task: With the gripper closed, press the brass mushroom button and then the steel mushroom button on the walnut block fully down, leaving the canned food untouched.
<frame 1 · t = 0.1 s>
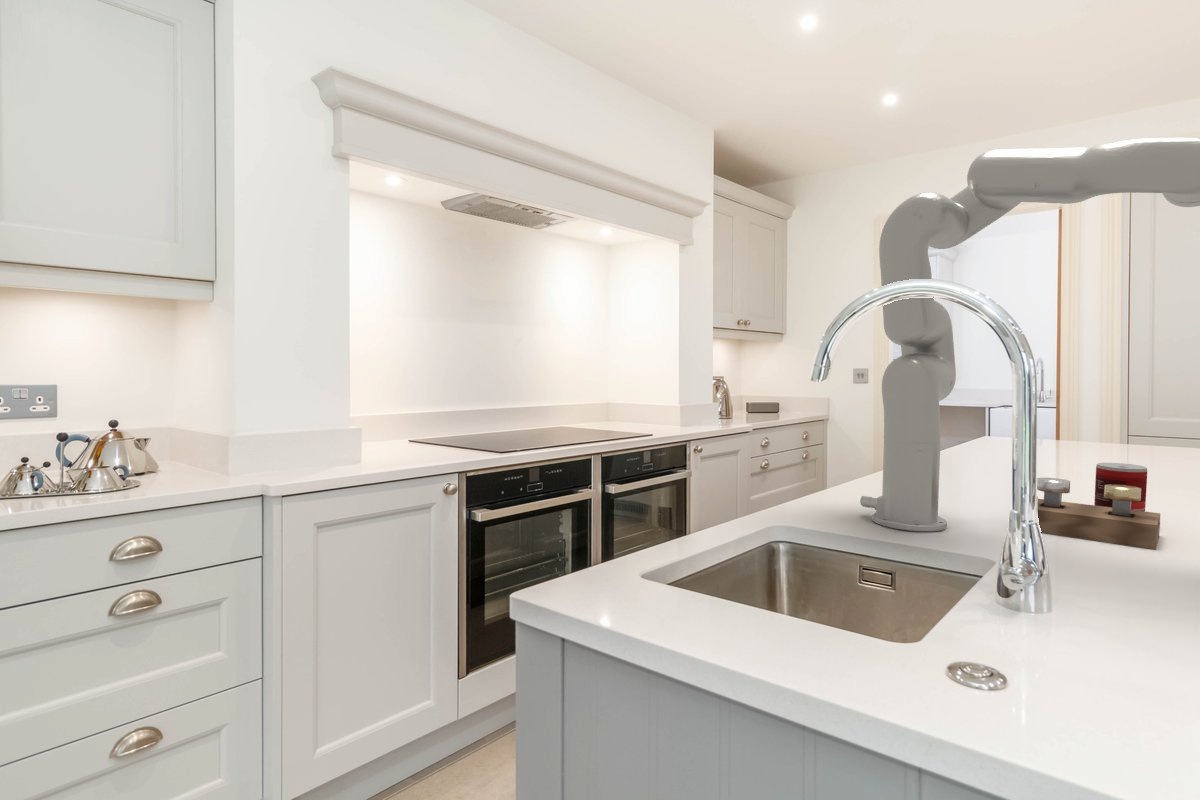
button block: (1084, 532, 119), on the countertop
canned food: (1118, 523, 127), on the countertop
steel button: (1052, 496, 122), point 6 cm above the countertop, slide at 2.5 cm
brass button: (1121, 504, 116), point 6 cm above the countertop, slide at 2.5 cm
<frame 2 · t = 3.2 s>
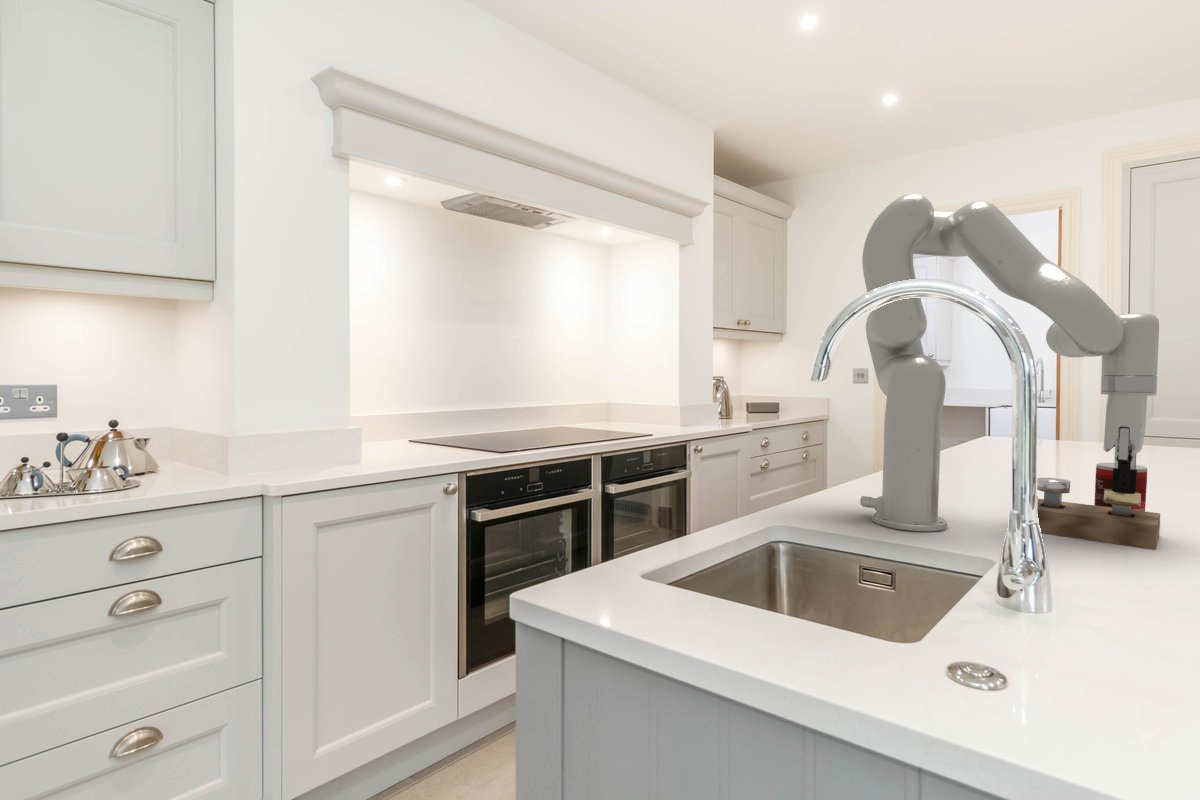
hand: (1124, 491, 115), 8 cm above the countertop, tool pointing down, fingers closed
brass button: (1121, 509, 116), point 5 cm above the countertop, slide at 1.6 cm, touching gripper
everything else where it was.
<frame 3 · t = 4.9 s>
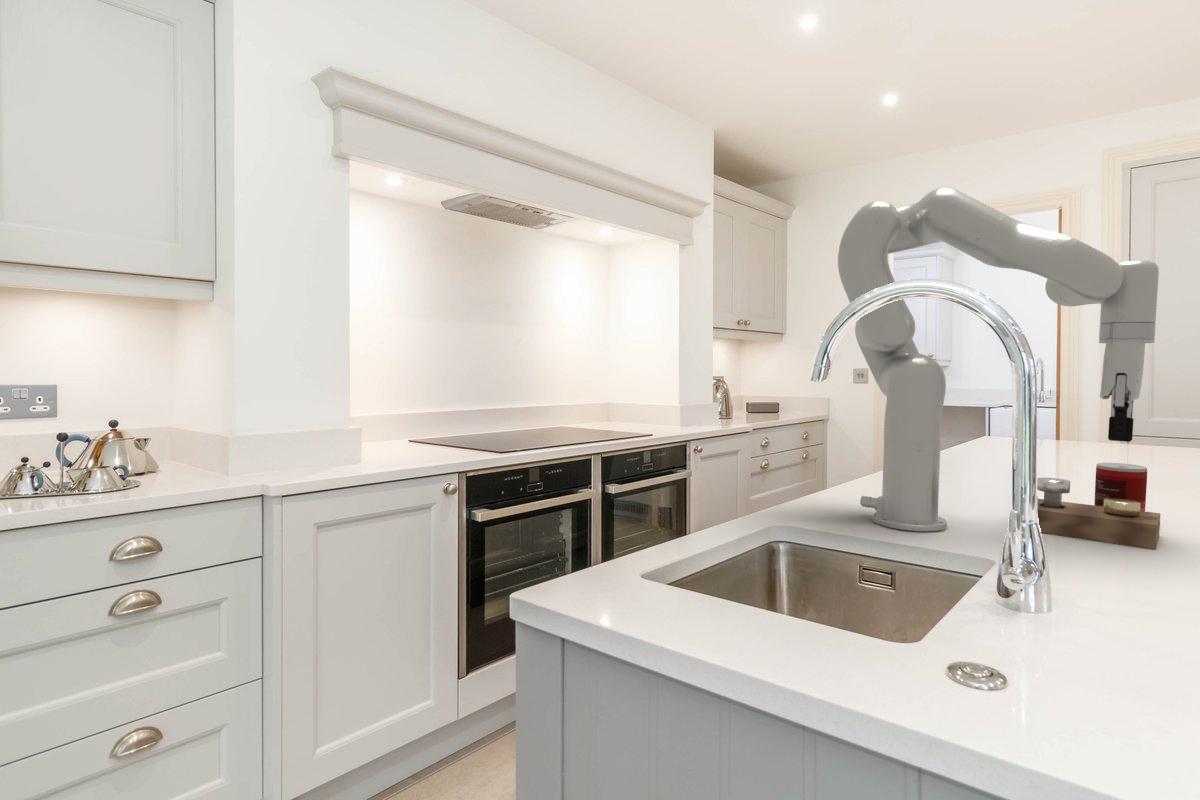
hand: (1120, 440, 115), 17 cm above the countertop, tool pointing down, fingers closed
brass button: (1121, 518, 116), point 3 cm above the countertop, slide at 0.0 cm
everything else where it was.
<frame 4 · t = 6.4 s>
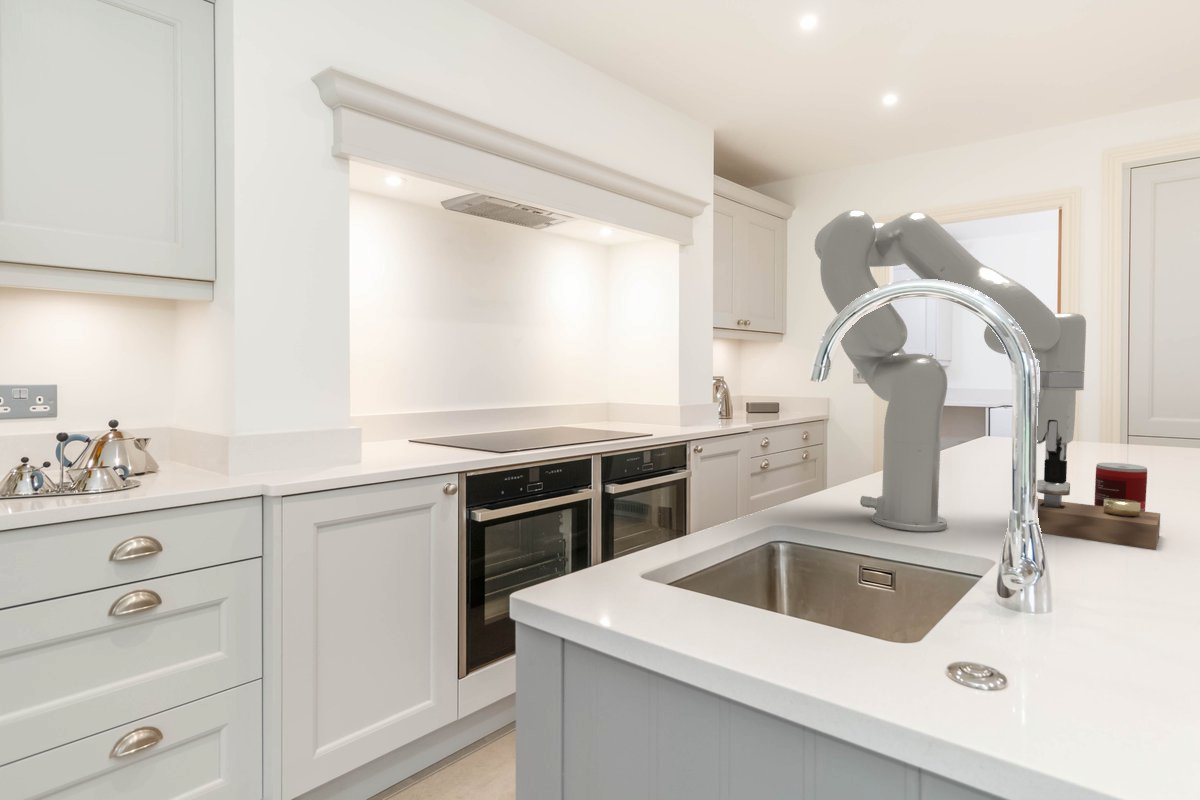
hand: (1055, 481, 122), 8 cm above the countertop, tool pointing down, fingers closed
steel button: (1052, 498, 122), point 5 cm above the countertop, slide at 2.1 cm, touching gripper
everything else where it was.
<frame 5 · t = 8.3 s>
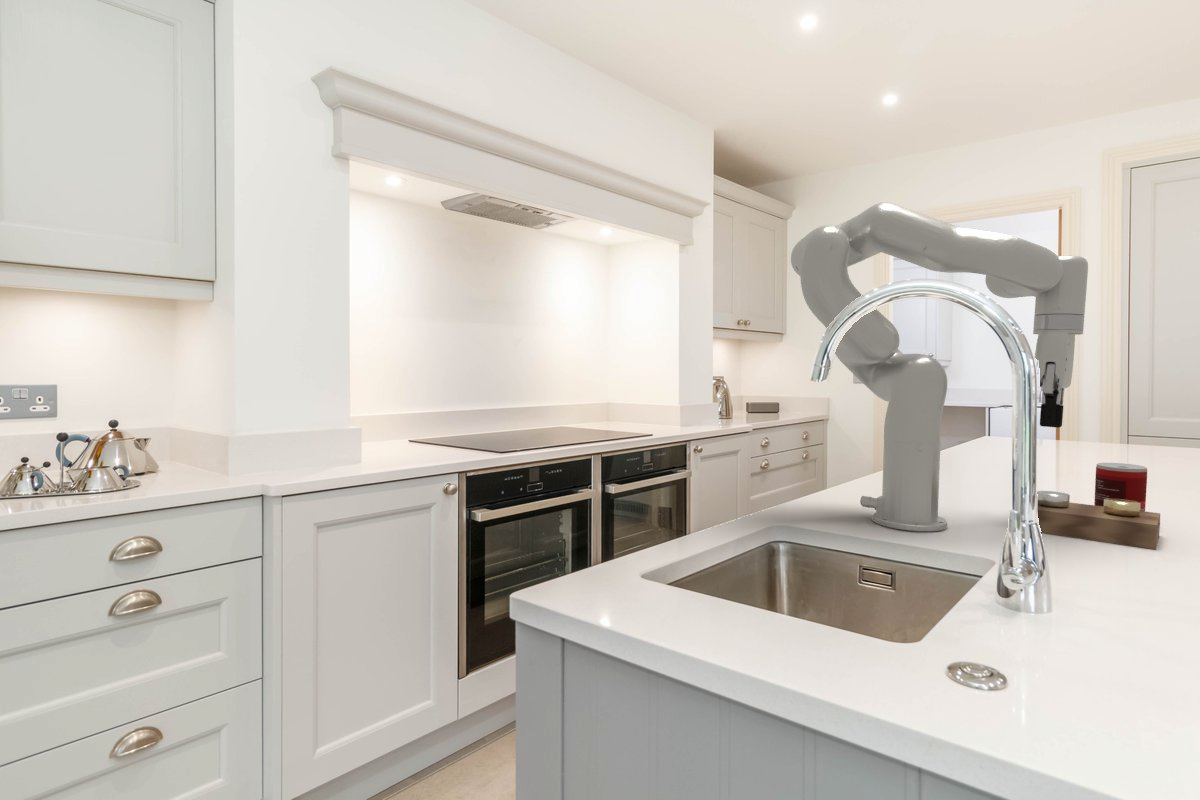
hand: (1050, 426, 122), 19 cm above the countertop, tool pointing down, fingers closed
steel button: (1052, 509, 122), point 3 cm above the countertop, slide at 0.0 cm
everything else where it was.
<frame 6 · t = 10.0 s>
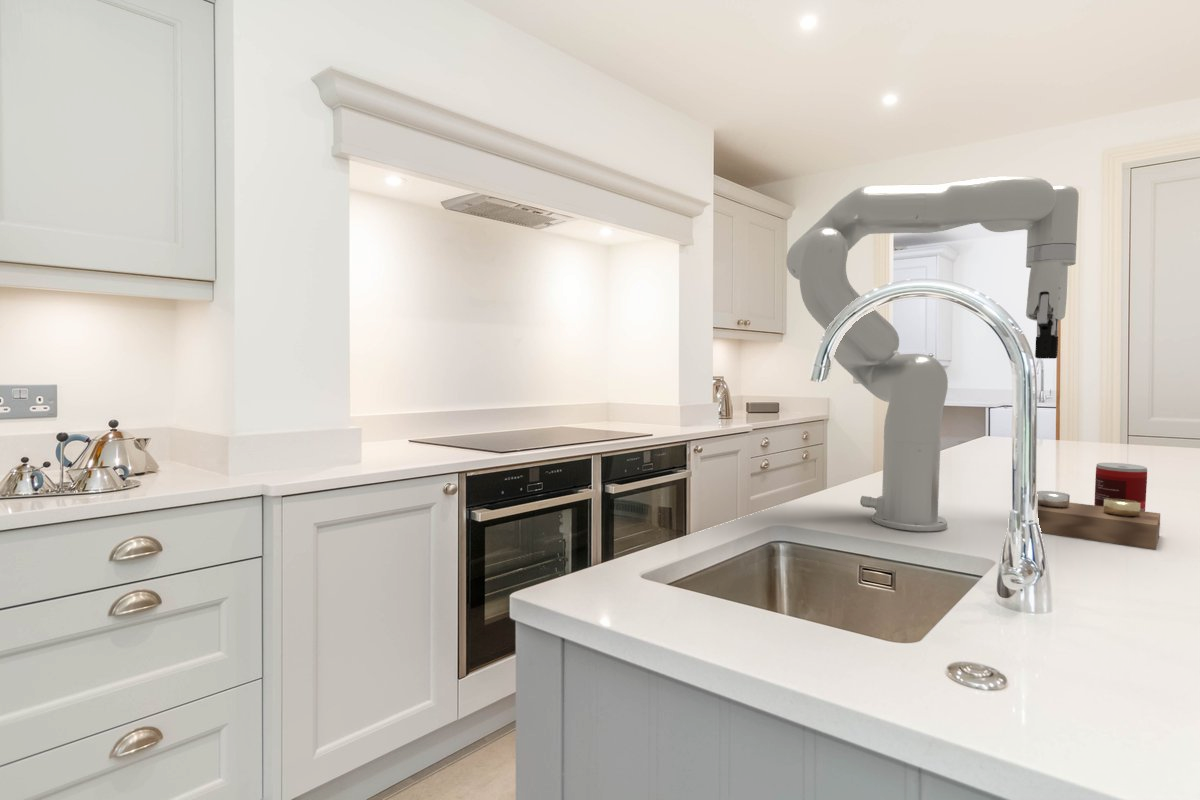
hand: (1046, 358, 122), 31 cm above the countertop, tool pointing down, fingers closed
nothing on the countertop moved.
at the end: brass button slide at 0.0 cm; steel button slide at 0.0 cm; canned food moved 0.2 cm from its start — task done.
